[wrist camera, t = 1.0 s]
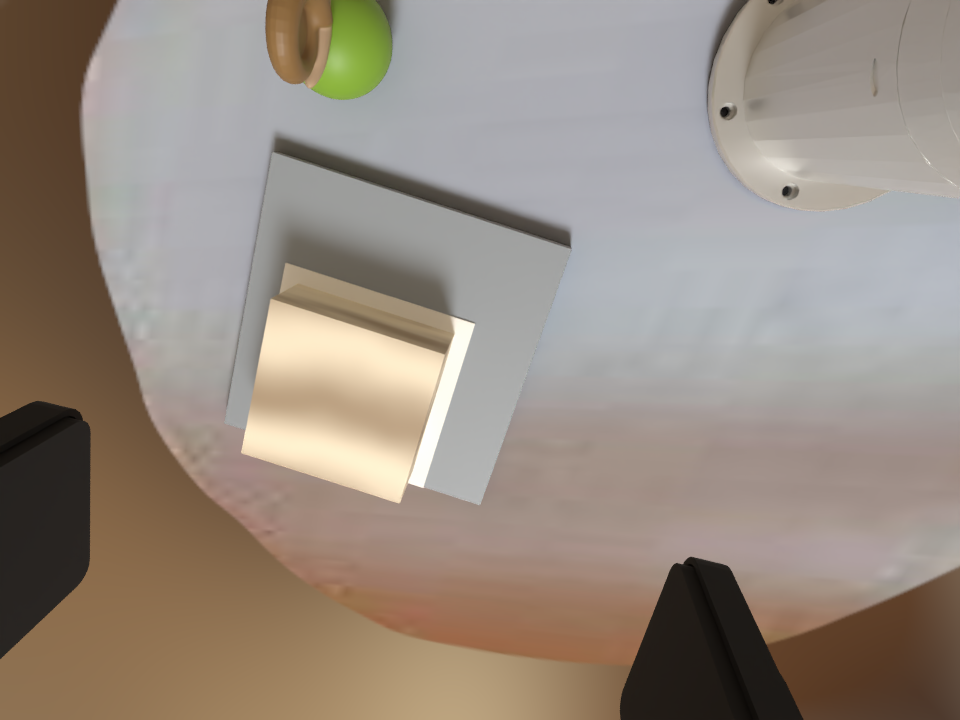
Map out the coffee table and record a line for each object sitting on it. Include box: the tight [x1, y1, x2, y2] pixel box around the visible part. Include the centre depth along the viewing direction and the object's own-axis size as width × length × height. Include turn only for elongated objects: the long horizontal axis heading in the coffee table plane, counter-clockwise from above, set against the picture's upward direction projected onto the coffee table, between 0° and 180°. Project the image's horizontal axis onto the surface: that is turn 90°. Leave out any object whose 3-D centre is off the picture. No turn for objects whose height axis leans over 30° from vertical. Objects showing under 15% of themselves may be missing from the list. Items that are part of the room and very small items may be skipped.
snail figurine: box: [265, 0, 392, 100], centre depth 28 cm, size 5×6×12 cm
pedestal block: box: [241, 284, 455, 504], centre depth 37 cm, size 10×10×4 cm
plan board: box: [224, 152, 572, 505], centre depth 38 cm, size 18×18×1 cm
